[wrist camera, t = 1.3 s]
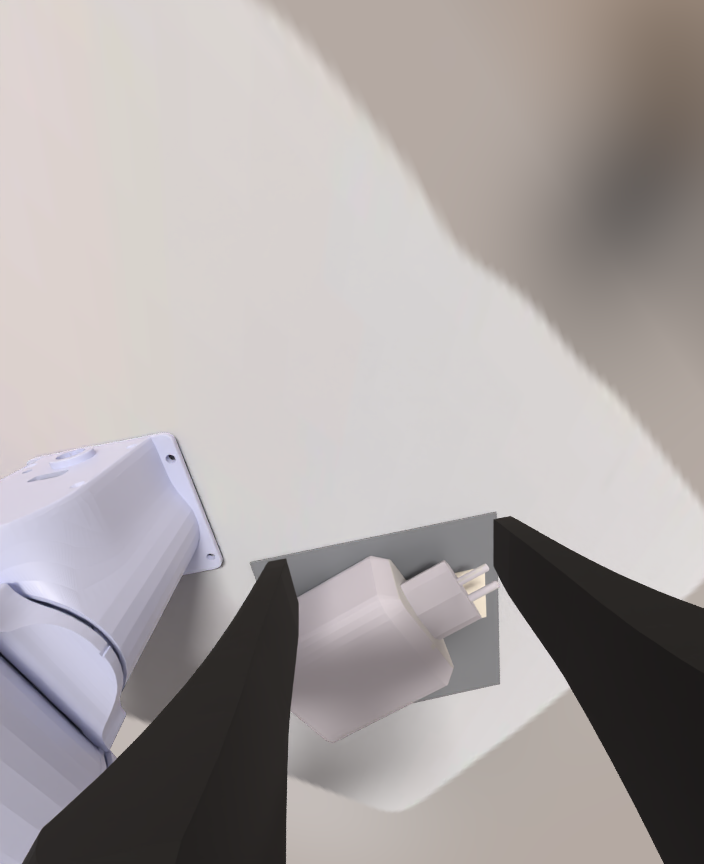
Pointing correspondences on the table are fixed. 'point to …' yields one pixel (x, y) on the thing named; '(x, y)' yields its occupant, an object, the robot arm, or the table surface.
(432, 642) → the charger
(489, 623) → the label mat
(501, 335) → the table surface
